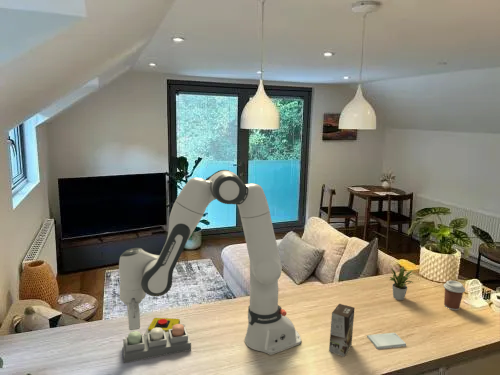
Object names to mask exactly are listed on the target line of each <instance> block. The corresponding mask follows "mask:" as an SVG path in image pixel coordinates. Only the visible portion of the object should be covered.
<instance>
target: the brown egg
mask: <svg viewBox="0 0 500 375" xmlns="http://www.w3.org/2000/svg"><path fill="white" fill-rule="evenodd" d="M182 324H183V323H180V324H176V325H174V326H173V327H172V335H173V337H178V336H183V335H184V326H183V325H182Z"/></svg>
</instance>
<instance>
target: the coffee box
mask: <svg viewBox="0 0 500 375" xmlns="http://www.w3.org/2000/svg"><path fill="white" fill-rule="evenodd" d="M354 318H355V307H353V306H352V305H346V304H342V303H338V305H336V307H335V308H334V309H333V310H332V312H331V318H330V319H331V321H330V333H329V344H328V345H329V349H328V352H331V353H333V354H335V355H338V356H341V357H345V356H346V355H347V353H348V351H349V350H350V348H351V346H352V345H353V344H352V343H353V333H354V332H353V331H354V330H353V329H354Z"/></svg>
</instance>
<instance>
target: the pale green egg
mask: <svg viewBox="0 0 500 375" xmlns="http://www.w3.org/2000/svg"><path fill="white" fill-rule="evenodd" d="M141 334H142V333H141V332H140V331H138V330H135V331H134V330H132V331H131V332H129V333H128V336H127V337H128V342H129V345H134V344H139V343H140V342H141Z"/></svg>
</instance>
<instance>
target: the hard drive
mask: <svg viewBox="0 0 500 375" xmlns="http://www.w3.org/2000/svg"><path fill="white" fill-rule="evenodd" d="M366 338H367V339H368V341H370V343H371V344H372V345H373V346H374V347H375V349H377V350H381V349H382V350H383V349H390V348H391V349H392V347H393V348H402V347H401V346H403V347H407V343H406V342H405V341H404V340H403V339H402V338H401V337H400V336H399V335H398V334H397V333H396V332H388V333H377V334H368V335H366Z"/></svg>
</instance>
